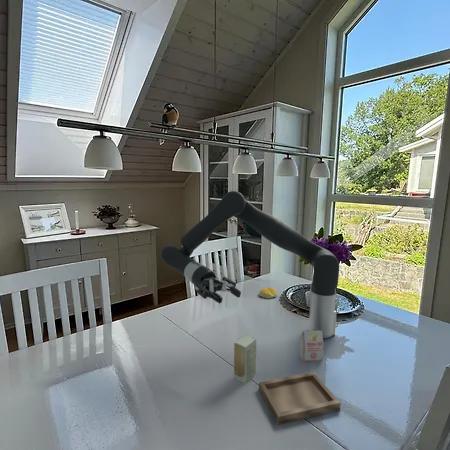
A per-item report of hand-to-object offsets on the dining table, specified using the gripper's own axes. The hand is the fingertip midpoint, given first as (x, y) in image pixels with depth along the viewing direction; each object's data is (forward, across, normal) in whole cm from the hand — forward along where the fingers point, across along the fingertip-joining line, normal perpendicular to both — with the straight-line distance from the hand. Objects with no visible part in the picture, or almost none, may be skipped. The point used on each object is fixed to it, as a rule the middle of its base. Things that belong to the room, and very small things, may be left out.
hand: (230, 297), depth 95 cm
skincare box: (+13, 0, +21) cm, 24 cm away
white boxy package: (+22, +23, +17) cm, 36 cm away
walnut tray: (+29, +3, +17) cm, 34 cm away
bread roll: (-21, +57, +25) cm, 65 cm away
